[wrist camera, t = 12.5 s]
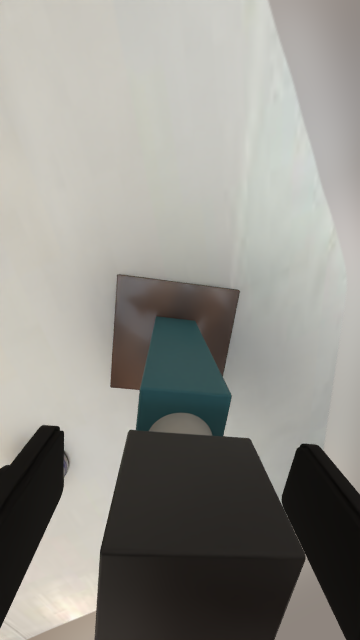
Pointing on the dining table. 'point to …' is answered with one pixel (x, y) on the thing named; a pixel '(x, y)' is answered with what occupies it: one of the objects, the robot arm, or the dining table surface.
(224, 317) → the coaster
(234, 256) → the dining table surface
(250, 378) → the dining table surface
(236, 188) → the dining table surface
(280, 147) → the dining table surface
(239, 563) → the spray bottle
